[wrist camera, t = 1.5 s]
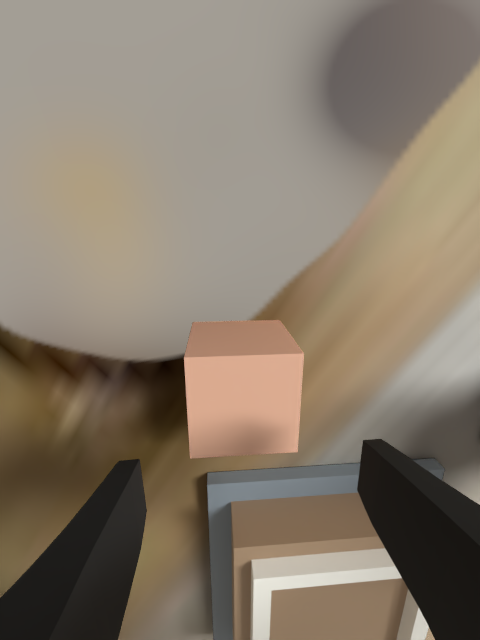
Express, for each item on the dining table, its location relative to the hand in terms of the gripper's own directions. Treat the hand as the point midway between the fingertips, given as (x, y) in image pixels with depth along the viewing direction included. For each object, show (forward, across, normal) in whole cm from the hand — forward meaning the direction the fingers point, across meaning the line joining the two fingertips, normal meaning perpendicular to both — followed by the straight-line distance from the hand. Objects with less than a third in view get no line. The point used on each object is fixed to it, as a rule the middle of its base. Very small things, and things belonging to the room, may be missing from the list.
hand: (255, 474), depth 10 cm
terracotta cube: (+9, 0, 0) cm, 9 cm away
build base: (+8, -6, +16) cm, 19 cm away
